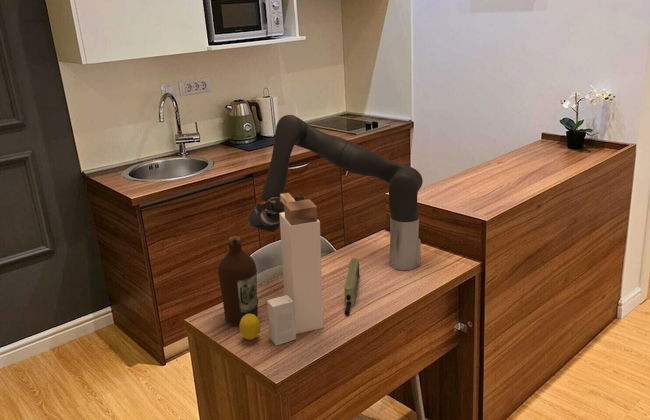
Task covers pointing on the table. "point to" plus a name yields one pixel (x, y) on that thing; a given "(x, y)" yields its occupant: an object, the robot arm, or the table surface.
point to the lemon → (249, 326)
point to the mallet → (298, 210)
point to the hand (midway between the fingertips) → (284, 201)
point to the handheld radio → (351, 284)
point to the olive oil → (238, 283)
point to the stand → (303, 272)
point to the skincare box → (281, 319)
